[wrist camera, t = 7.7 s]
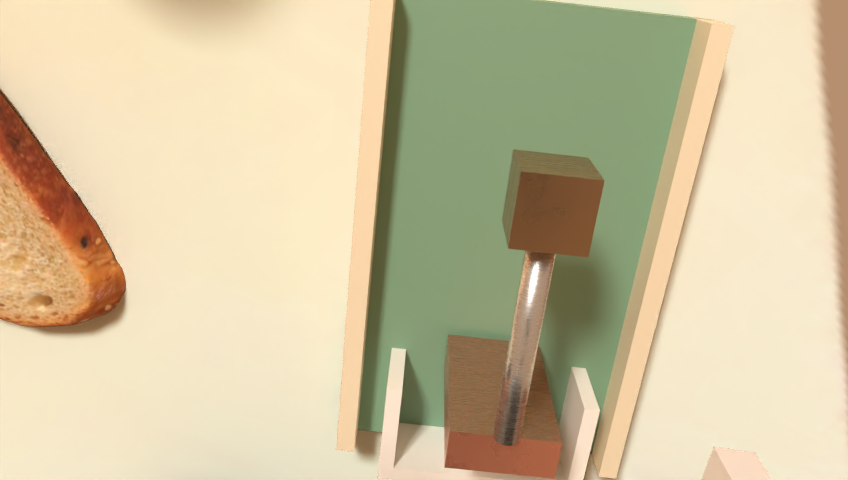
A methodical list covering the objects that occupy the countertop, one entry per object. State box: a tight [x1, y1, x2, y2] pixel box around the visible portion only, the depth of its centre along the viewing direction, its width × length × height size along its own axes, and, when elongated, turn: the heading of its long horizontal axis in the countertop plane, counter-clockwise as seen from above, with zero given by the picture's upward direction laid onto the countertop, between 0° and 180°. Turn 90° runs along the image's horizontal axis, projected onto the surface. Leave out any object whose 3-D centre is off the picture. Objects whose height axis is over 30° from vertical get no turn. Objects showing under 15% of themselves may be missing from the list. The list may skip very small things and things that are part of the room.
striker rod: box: [444, 149, 605, 479], centre depth 33 cm, size 14×5×10 cm, turn 174°
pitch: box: [336, 0, 734, 480], centre depth 37 cm, size 25×16×5 cm, turn 174°
